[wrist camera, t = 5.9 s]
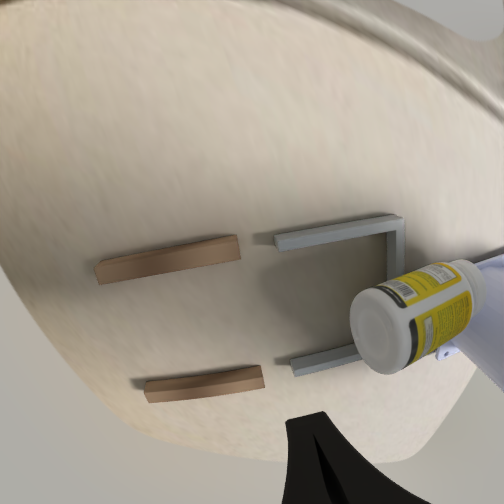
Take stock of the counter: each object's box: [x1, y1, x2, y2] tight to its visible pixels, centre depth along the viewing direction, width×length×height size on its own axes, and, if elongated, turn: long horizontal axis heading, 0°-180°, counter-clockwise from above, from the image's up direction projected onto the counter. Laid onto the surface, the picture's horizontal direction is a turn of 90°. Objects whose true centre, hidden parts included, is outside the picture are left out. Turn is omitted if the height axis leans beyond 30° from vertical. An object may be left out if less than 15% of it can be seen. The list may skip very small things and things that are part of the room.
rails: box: [94, 235, 265, 403], centre depth 17 cm, size 8×10×1 cm
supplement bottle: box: [350, 259, 487, 375], centre depth 15 cm, size 5×5×8 cm
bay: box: [274, 214, 405, 377], centre depth 18 cm, size 8×9×1 cm
